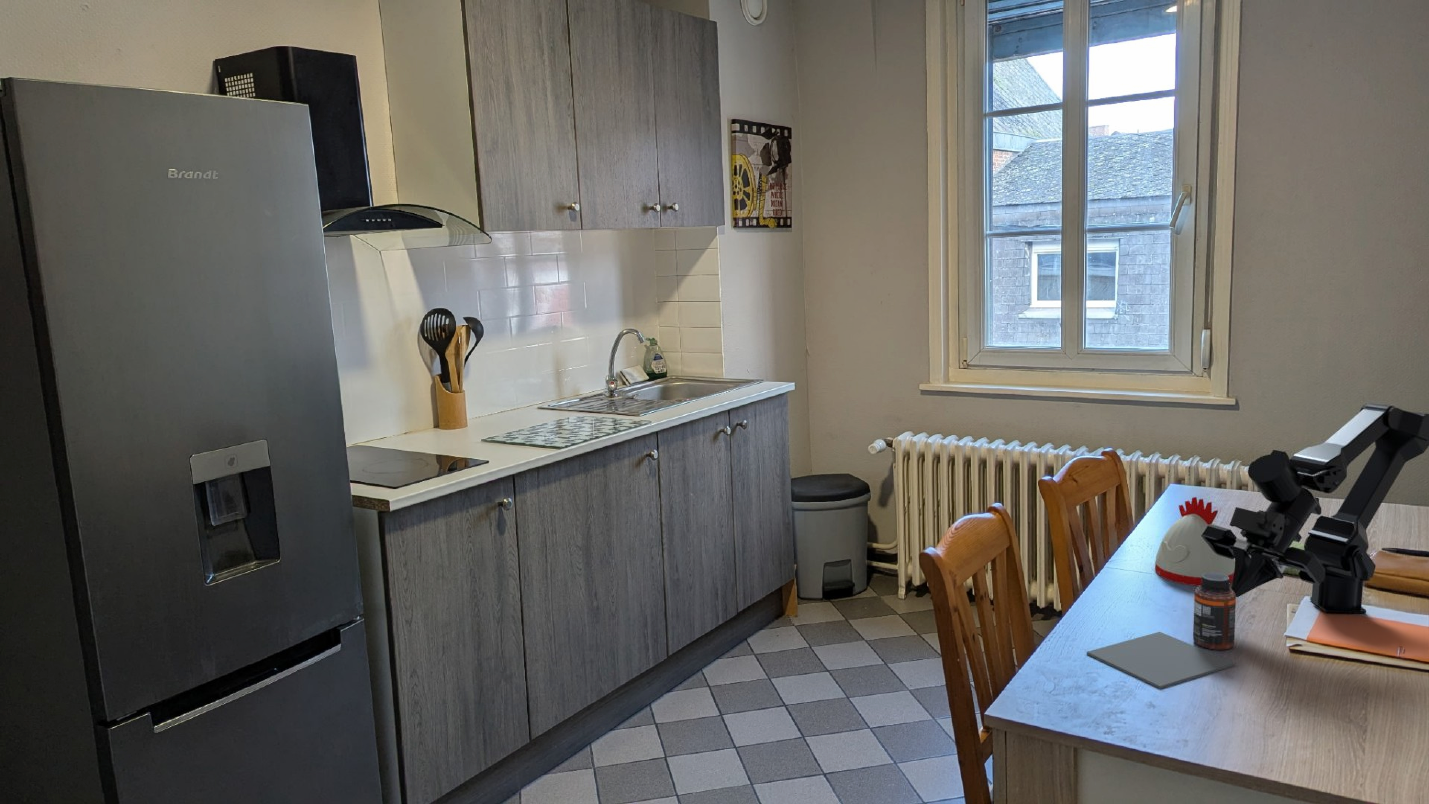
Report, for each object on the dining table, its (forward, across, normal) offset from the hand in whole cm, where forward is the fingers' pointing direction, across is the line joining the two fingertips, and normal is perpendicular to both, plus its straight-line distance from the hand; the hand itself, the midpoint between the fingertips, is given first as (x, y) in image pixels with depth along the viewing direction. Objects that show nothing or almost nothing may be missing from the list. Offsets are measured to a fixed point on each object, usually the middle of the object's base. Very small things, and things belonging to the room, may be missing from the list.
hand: (1233, 595), depth 160 cm
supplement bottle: (+8, 0, +2) cm, 9 cm away
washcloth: (-24, -22, +34) cm, 47 cm away
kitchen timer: (-10, -24, +20) cm, 33 cm away
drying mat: (+17, 0, -6) cm, 18 cm away
